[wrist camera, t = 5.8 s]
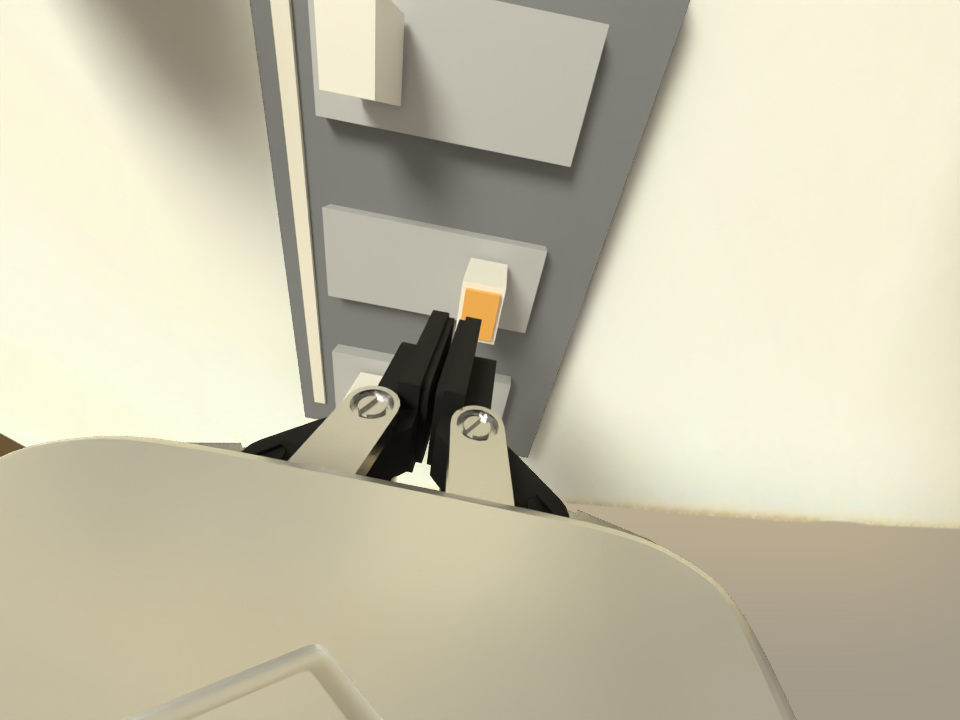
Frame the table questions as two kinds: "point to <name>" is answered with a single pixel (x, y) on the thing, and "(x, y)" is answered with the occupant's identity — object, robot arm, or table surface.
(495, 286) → the block
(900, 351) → the table surface
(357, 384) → the breaker
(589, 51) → the breaker panel
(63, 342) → the table surface
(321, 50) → the block
